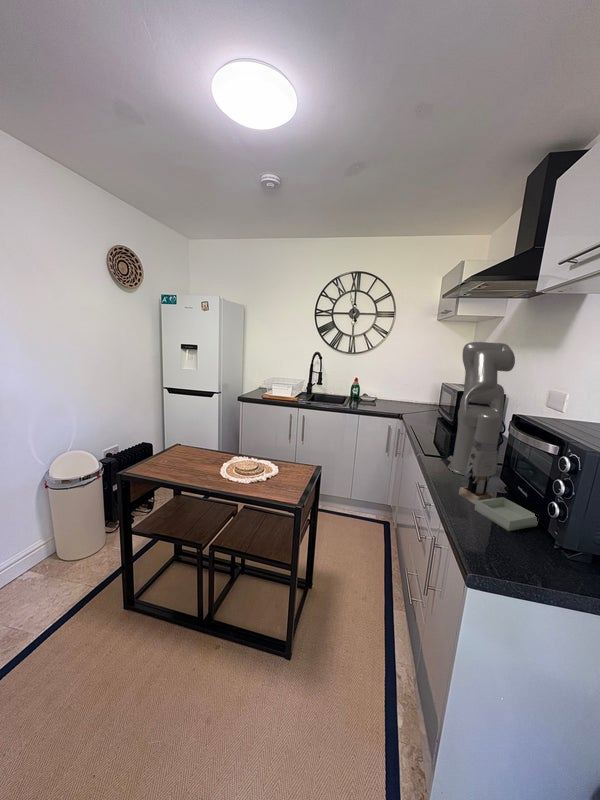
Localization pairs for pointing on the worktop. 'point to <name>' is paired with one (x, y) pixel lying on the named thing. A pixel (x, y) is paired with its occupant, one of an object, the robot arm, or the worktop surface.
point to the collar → (473, 498)
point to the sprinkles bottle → (479, 486)
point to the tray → (506, 513)
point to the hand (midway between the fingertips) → (476, 490)
